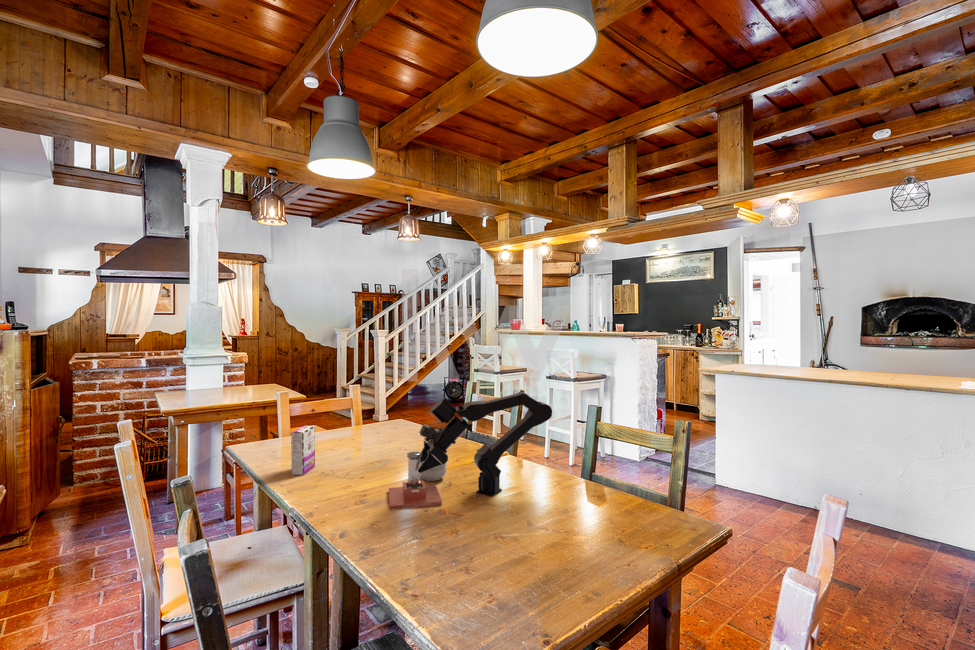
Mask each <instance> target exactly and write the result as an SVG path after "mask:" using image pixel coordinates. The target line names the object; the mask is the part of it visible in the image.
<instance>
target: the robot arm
mask: <svg viewBox="0 0 975 650" xmlns="http://www.w3.org/2000/svg"><path fill="white" fill-rule="evenodd" d="M518 406H523V407H525V408H526V409H527V411H526V413H525V414H524V416H523V418H521V419H520V420H519V421H518V422H517V423H516V424H515V425H513V426H512V427H511V428H510V429H509V430H508V431H506V433H504V434H503V435H502V436H501V437H500V438H498V439H497V440H496V441H495V442H494V443H493V444H490V445H488V444H487V442H486V443H484V444H483V445H482V446H481V447H480V448H479V449H476V453H475V454H474V456H473V461H474V462H473V463H474V464H475V466H476V467H477V468H478V469H479V471H480V472H479V474H478V475H479V476H478V477H477V478H478V479H477V481H478V485H477V487H478V488H477V490H476V493H477V494H482V495H487V496H491V497H494V496H496V495H498V493H500V492H502V490H503V489H502V488H500V481H501V479H500V477H501V472H502V470H501V469H500V468H499V467H498V465H497V464H498V463H499V461H500V459H501V457H502V456H503V454H504V453H506V451H507V450H509V449H510V448H511V447H512V446H514V445H515V444H516V443H517V442H518V441H520V439H522V438H523V437H524V436H525V435H526V434H527V433H528V432H529V431H530V430H531V429H532V428H534V427H537V426H539V425H541V424H544V423H546V422H547V421H548V420H550V419H551V418H552V417H553V410H552V407H551V406H550V405H549V404H546V403H545V402H542V401H537V400H536V399H534V398H532V397H531V396H530V395H528V394H527V393H525V392H523V391H519V392H516V393H513V394H509V395H507V396H506V395H505V396H501V397H498V398H493V399H490V400H482V401H481V400H476V401H472V400H471V401H467V402H465V403H464V404H463V405H458V406H453V404H452V403H451V402H450V401H449V400H448V399H447V398H446V397H445V396H444V397H443V398H442V399H440V400H438V401H437V402H435V404H434V405H432V407H431V409H430V410H429V412H430V413H431V414H432V415H433V416H434V417H435V418H436V419H437V420H438V421H439V422H440V423H441V424H444V423H445V426H444V427H440V428H438V429H436V428H435V427H433V426H432V425H427V424H425V423H423V424H422V426H421V428H420V430H419V435H420V436H421V437H423V448H422V449H421V451H420V452H421V453H422V457H421V462H423V461H424V462H423V464H422V465H421V466H420V468H419V469H418V472H419V473H421V472H424V471H426V470H428V469H431V468H433V467H436V466H439V465H442V464H443V465H444V464H445V463H446V464H447V462H448V461H449V456H448V454H447V453H448V449H449V447H451V446H452V445H455V444H456V443H457V442H456V441H457V439H458V438H459V437H460V436H461V435H462V434H463V433H464V432H465V431H466V430H467V431H469V432H470V433H473V423H472V422H476V421H477V422H478V421H479V420H481V419H484V418H485V417H487V416H489V414H492V413H496V412H499V411H504V410H507V409H512V408H516V407H518ZM456 414H457V415H458V416H459V417H460V418H459V417H458V416H457V415H456ZM468 421H469V422H468Z"/></svg>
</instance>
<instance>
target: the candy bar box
mask: <svg viewBox="0 0 975 650" xmlns="http://www.w3.org/2000/svg"><path fill="white" fill-rule="evenodd" d="M315 427H316V426H315V425H303V426H301V427H299V428H297V429H295V430H293V431H292V432H290V433H291V434H290V435H291V436H290V437H291V442H290V445H291V446H290V447H291V476H304V475H306V474H307V473H308V472H310V471H311V470H312V469H314V467H316V435H315V434H316V430H315V429H316V428H315Z"/></svg>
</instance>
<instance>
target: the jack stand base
mask: <svg viewBox="0 0 975 650" xmlns="http://www.w3.org/2000/svg"><path fill="white" fill-rule="evenodd" d="M420 485H421V487H420V488H408V481H405V482H402V486H398V487H397V486H396V487H388V501H389V510H392V511H394V510H402V509H403V508H405V509H414V508H415V509H416V507H417V508H424V507H426V508H427V507H437V506H443V500H442V498H441V495H440V493H439V491H438V487H437V484H435V483H433V484H426V483H425V480H421V483H420ZM393 509H394V510H393Z"/></svg>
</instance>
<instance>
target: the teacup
mask: <svg viewBox="0 0 975 650" xmlns="http://www.w3.org/2000/svg"><path fill="white" fill-rule="evenodd" d="M423 462H424V461H423ZM423 462H421V465H422V464H423ZM446 473H447V462H446V463H445V464H444V465H443V464H442V465H439V466H436V467H433V468H431V469H428V470H426V471H424V472H421V479H423V481H427V482H435V481H439V480H441V479H442V478H443V477H444V476H445V475H446Z"/></svg>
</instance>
